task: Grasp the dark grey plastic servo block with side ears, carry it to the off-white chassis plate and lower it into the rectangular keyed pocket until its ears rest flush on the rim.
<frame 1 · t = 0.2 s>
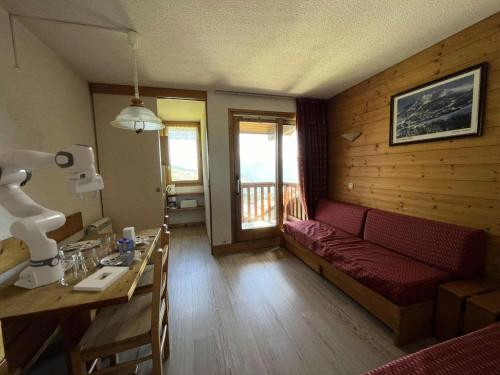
hand: (88, 199, 116), 47 cm above the table, fingers open, 8 cm apart
ink cartridge box: (127, 255, 155), on the table
servo block: (128, 263, 142), on the table
skincare box: (130, 247, 170), on the table
pocket plate: (103, 279, 123), on the table
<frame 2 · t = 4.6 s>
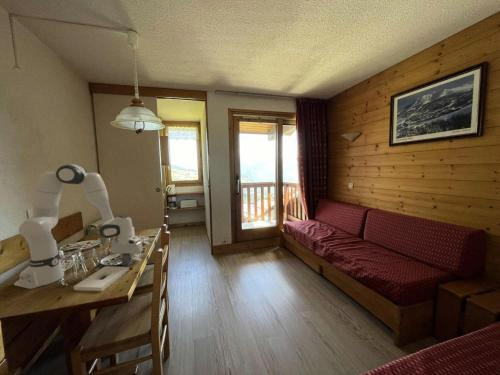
hand: (127, 259, 142), 3 cm above the table, fingers closed on servo block, 4 cm apart
servo block: (128, 263, 142), on the table, touching gripper
everything else where it was.
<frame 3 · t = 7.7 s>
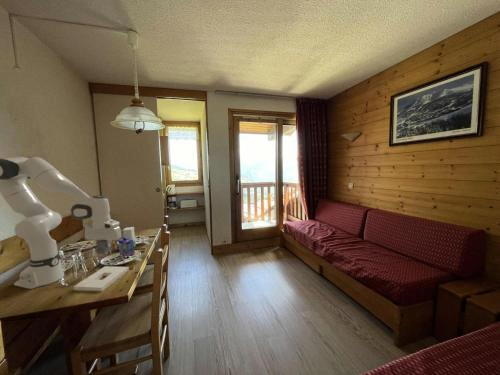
hand: (104, 246, 124), 19 cm above the table, fingers closed on servo block, 4 cm apart
servo block: (104, 251, 124), point 16 cm above the table, touching gripper
everything else where it was.
when the fingers open (3 cm above the table, at t = 11.0 s): servo block stays where it is, resting in pocket plate.
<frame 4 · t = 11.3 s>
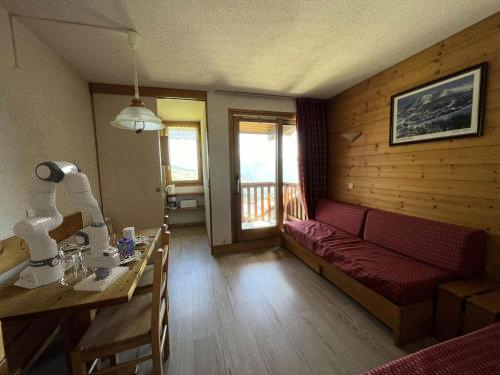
hand: (103, 273, 123), 3 cm above the table, fingers open, 6 cm apart
servo block: (103, 279, 123), resting in pocket plate
everything else where it was.
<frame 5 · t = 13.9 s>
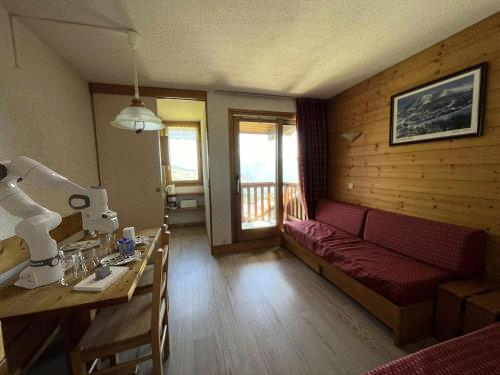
hand: (101, 237, 124), 24 cm above the table, fingers open, 8 cm apart
nothing on the table moved.
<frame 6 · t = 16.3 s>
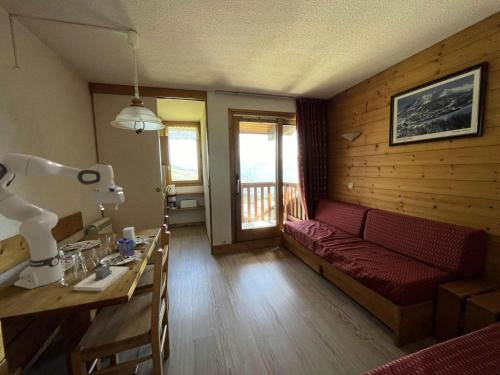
hand: (109, 209, 137), 37 cm above the table, fingers open, 8 cm apart
nothing on the table moved.
at the end: servo block 0.1 cm off-centre on the pocket plate, point 0.0 cm above the pocket plate's base; servo block tilted 0°; the gripper is holding nothing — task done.
